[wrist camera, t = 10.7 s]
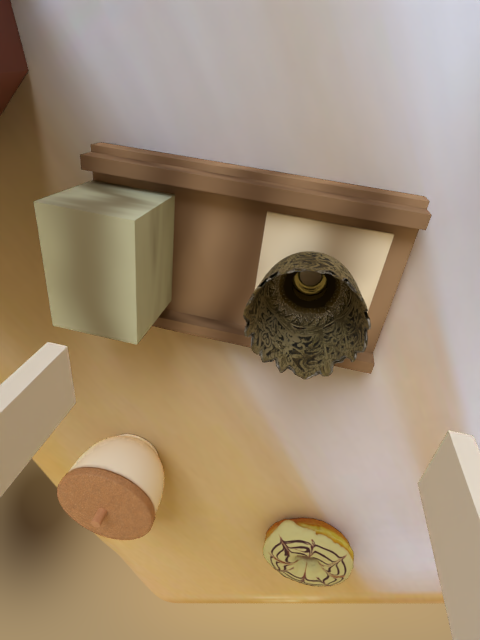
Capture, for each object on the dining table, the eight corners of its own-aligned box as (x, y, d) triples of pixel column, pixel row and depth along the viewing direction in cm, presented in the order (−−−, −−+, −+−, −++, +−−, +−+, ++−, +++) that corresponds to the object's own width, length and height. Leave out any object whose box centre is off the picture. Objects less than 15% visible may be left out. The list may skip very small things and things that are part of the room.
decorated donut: (273, 501, 47) (269, 530, 44) (362, 524, 46) (364, 556, 42) (261, 548, 52) (256, 577, 49) (340, 570, 51) (341, 602, 48)
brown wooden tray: (110, 302, 37) (57, 353, 29) (101, 142, 29) (26, 157, 22) (366, 357, 34) (375, 427, 27) (424, 196, 27) (459, 233, 20)
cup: (296, 332, 32) (287, 395, 26) (243, 263, 30) (218, 312, 23) (380, 288, 29) (395, 348, 22) (326, 207, 27) (325, 245, 20)
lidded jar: (79, 444, 49) (30, 513, 41) (122, 404, 43) (75, 473, 35) (146, 492, 51) (112, 566, 43) (194, 459, 46) (165, 536, 38)
